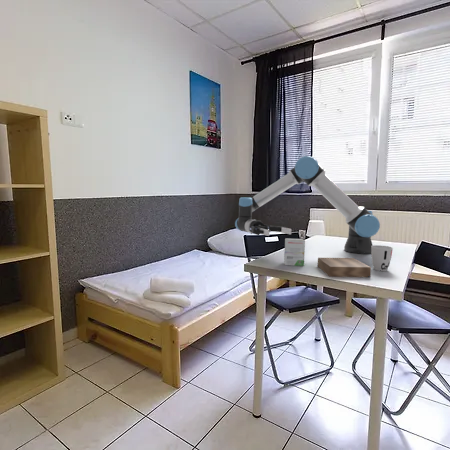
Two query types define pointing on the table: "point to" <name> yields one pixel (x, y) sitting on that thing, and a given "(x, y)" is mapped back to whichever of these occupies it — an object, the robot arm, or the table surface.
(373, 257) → the cup
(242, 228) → the robot arm
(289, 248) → the ink box
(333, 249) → the table surface
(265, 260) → the table surface
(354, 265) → the walnut stand
